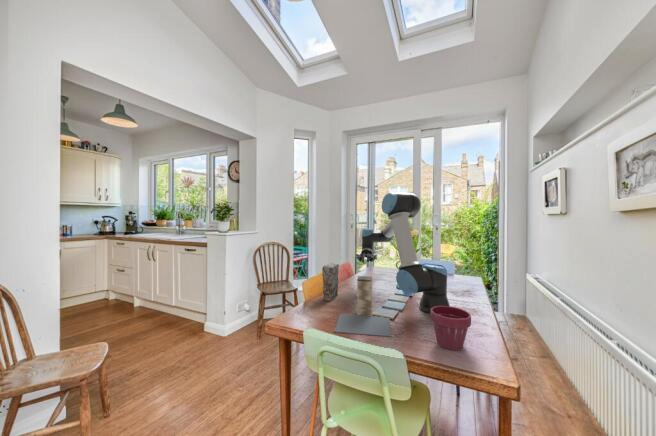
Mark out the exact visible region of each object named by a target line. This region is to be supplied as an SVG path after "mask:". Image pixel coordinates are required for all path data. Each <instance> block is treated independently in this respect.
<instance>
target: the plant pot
mask: <svg viewBox="0 0 656 436" xmlns="http://www.w3.org/2000/svg"><path fill="white" fill-rule="evenodd" d="M430 320H431V322H433V323H432V324H433V328H434V329H433V330H434V332H435V333H434V334H435V337H436V342H437V344H438V345H439V346H440V347H442V348H444V349H446V350H451V351H459V349H460V350H462V349H463V347H464V346H465V345H464V344H465V341H466V337H467V333H468V329H469V328H470V327H471V326H472V315H471V313H470V312H469V311H466V310H465V309H463V308H460V307H456V306H435V307H433V308H431V313H430Z"/></svg>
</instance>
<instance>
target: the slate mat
mask: <svg viewBox="0 0 656 436" xmlns="http://www.w3.org/2000/svg"><path fill="white" fill-rule="evenodd" d="M384 317H385V316H380V317H378V316H377V315H372V316H365V315H357V314H349V313H348V314H347V313H339V316H338V319H337V321H336V324H335V327H334V330H333V333H337V334H338V333H339V334H352V335H362V336H364V335H365V336H373V337H374V336H375V337H384V338H392V337H393V336H392V328H391V321H390V317H389V318H384Z"/></svg>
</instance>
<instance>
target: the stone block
mask: <svg viewBox="0 0 656 436" xmlns="http://www.w3.org/2000/svg"><path fill="white" fill-rule="evenodd" d="M339 267H340V265H339V263H334V262H329V263H326V264H325V265H323V266H322V271H321V272H322V273H321V274H322V285H323V286H322V291H323V300H324V301H328V302H332V301H334V300H335V298H336V297H337V296H338V290H339V289H338V288H339V270H340V269H339Z"/></svg>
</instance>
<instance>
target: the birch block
mask: <svg viewBox="0 0 656 436" xmlns="http://www.w3.org/2000/svg"><path fill="white" fill-rule="evenodd" d="M356 284H357V286H356V288H357V291H356V293H357V295H356V297H357V298H356V299H357V303H356V305H357V308H356V309H357V310H356V315H365V316H373V310H372V309H373V308H372V307H373V305H372V304H373V301H372V300H373V277H372V276H367V275H362V276H361V275H358V276H357V281H356Z"/></svg>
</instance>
